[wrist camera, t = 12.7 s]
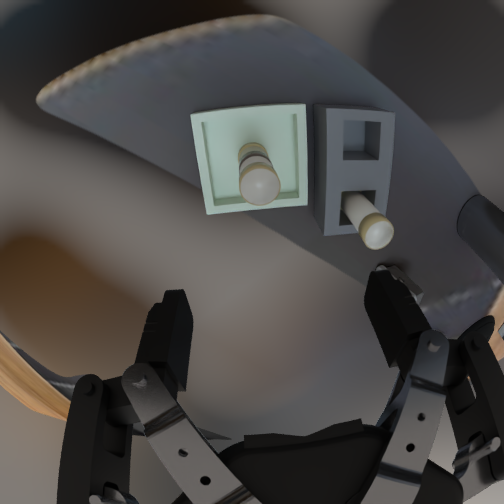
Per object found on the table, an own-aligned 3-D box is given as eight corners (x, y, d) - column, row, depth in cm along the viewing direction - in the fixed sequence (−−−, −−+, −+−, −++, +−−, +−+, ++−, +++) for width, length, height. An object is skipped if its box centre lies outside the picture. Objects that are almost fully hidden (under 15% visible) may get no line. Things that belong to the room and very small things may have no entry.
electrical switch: (376, 263, 41) (405, 302, 34) (400, 257, 41) (430, 293, 34) (366, 303, 47) (388, 341, 39) (389, 296, 47) (412, 332, 39)
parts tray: (300, 102, 27) (305, 104, 25) (302, 196, 34) (307, 204, 32) (194, 112, 27) (190, 114, 25) (208, 205, 34) (207, 214, 32)
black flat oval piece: (504, 305, 57) (512, 316, 52) (460, 371, 80) (464, 380, 76) (458, 326, 57) (465, 339, 53) (414, 390, 81) (418, 400, 76)
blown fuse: (266, 140, 29) (279, 165, 21) (268, 168, 31) (281, 203, 23) (236, 143, 29) (237, 169, 21) (239, 171, 31) (241, 207, 23)
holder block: (374, 107, 27) (395, 112, 23) (367, 212, 36) (382, 230, 31) (313, 104, 27) (326, 108, 23) (313, 216, 36) (323, 235, 32)
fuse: (358, 181, 32) (396, 219, 24) (356, 205, 34) (390, 247, 26) (334, 182, 32) (366, 221, 24) (332, 206, 34) (361, 251, 26)
